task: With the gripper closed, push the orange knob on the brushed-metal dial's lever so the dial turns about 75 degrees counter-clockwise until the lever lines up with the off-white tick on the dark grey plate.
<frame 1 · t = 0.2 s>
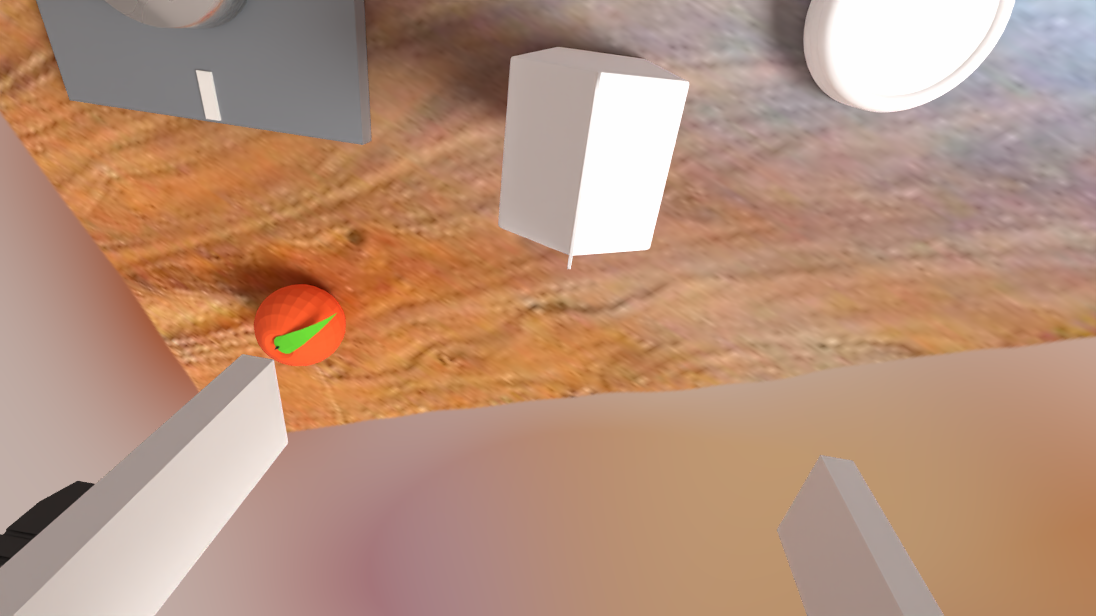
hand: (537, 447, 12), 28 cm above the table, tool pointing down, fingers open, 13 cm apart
milk: (594, 100, 34), on the table
clementine: (327, 302, 44), on the table
round white tin: (884, 19, 30), on the table
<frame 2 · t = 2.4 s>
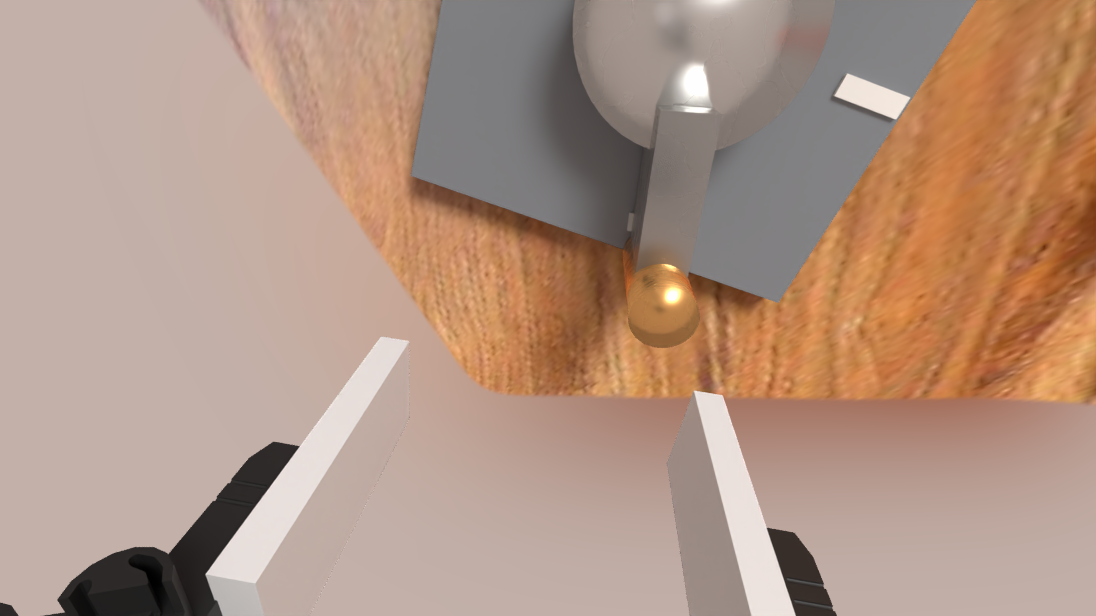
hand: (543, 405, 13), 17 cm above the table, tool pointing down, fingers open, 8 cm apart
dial: (683, 127, 21), point 5 cm above the table, hinge at -75.0°
plate: (682, 26, 23), on the table
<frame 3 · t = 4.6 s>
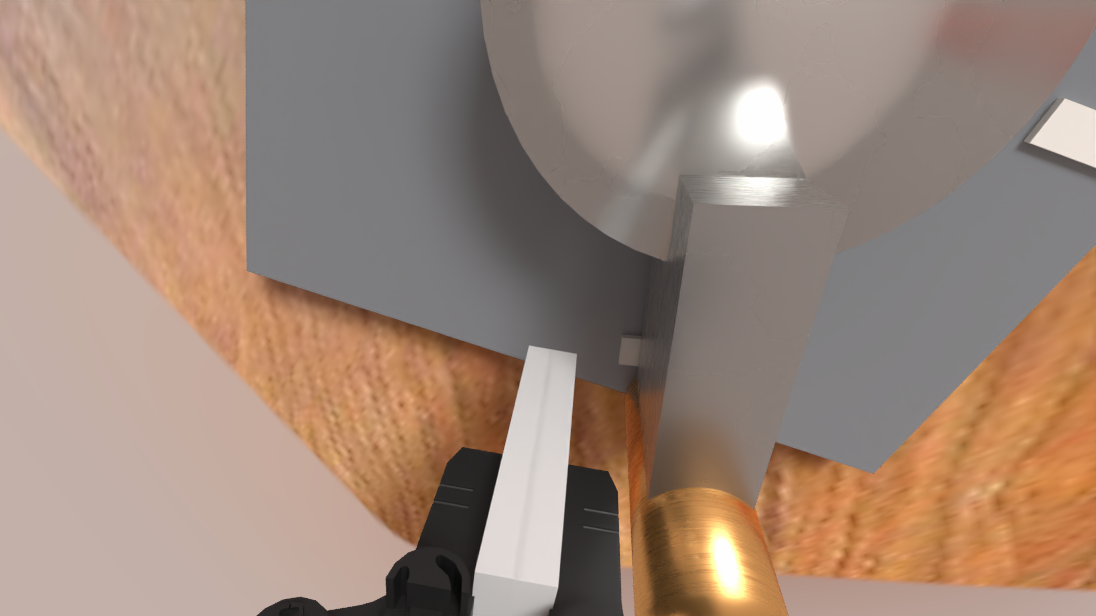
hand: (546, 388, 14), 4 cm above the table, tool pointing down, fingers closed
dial: (742, 224, 9), point 5 cm above the table, hinge at -72.7°, touching gripper
plate: (720, 7, 12), on the table
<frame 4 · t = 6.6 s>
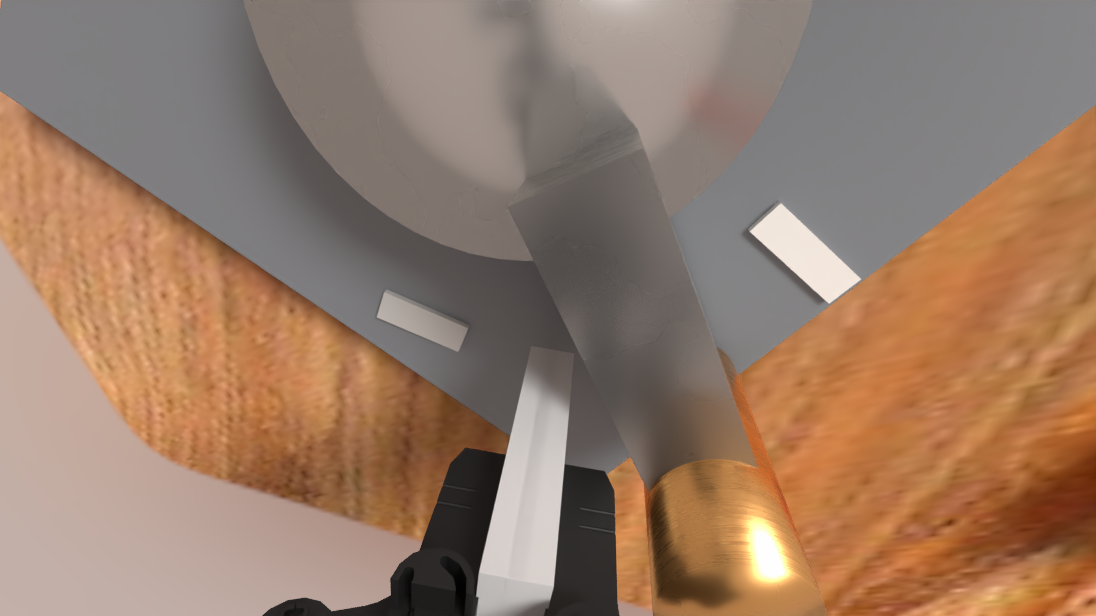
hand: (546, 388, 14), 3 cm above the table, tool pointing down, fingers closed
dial: (592, 199, 9), point 5 cm above the table, hinge at -26.6°, touching gripper
plate: (544, 9, 13), on the table
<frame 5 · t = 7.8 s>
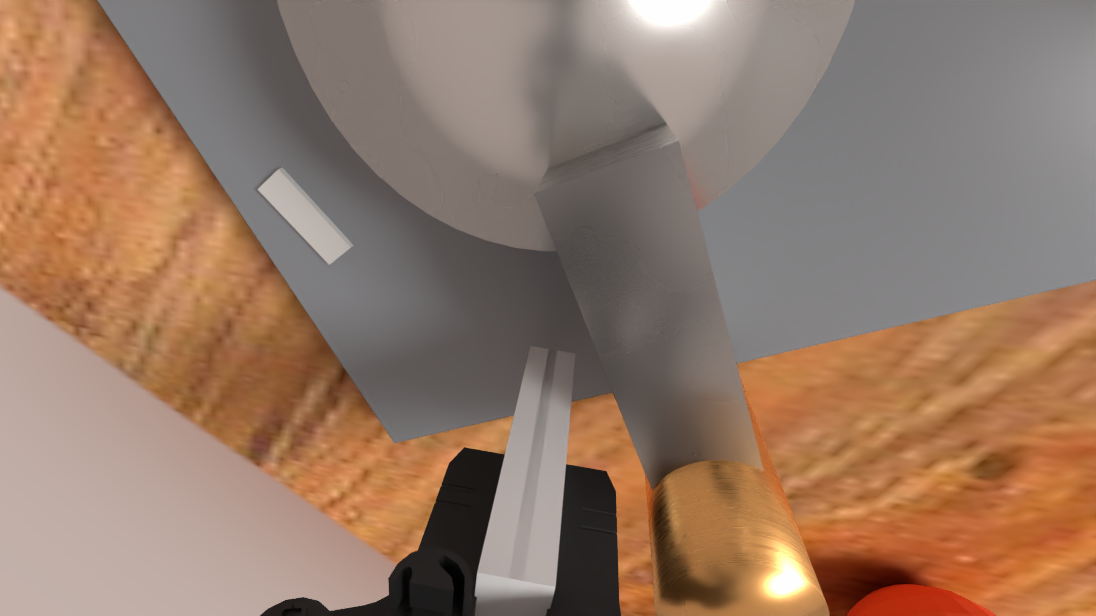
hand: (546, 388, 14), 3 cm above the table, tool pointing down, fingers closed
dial: (617, 192, 9), point 5 cm above the table, hinge at -0.1°, touching gripper
clementine: (904, 588, 21), on the table
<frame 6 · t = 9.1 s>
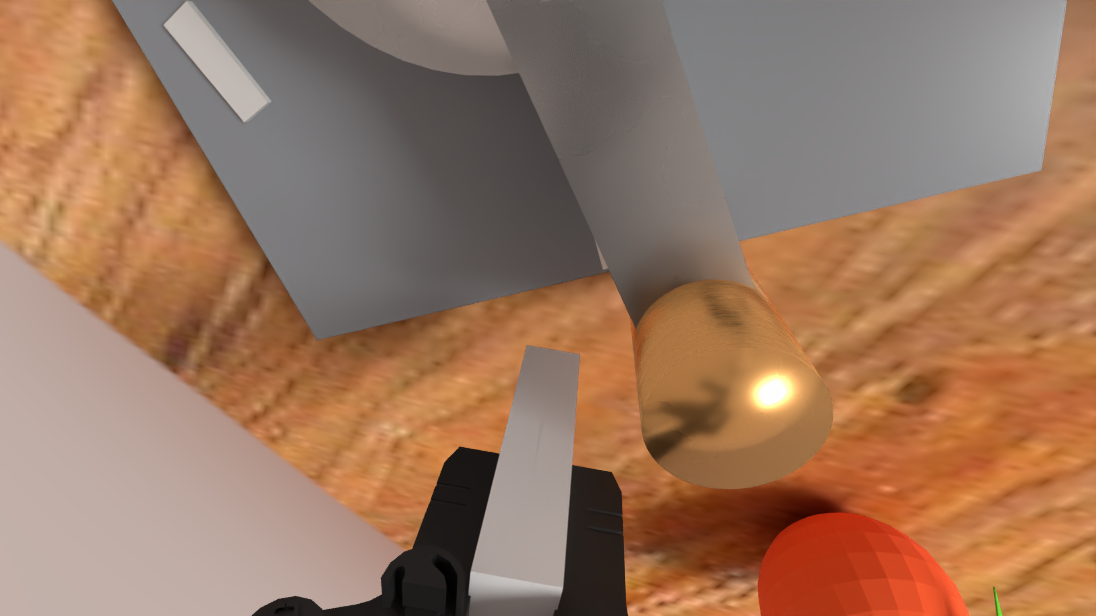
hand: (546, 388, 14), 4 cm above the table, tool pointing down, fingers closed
clementine: (828, 521, 22), on the table
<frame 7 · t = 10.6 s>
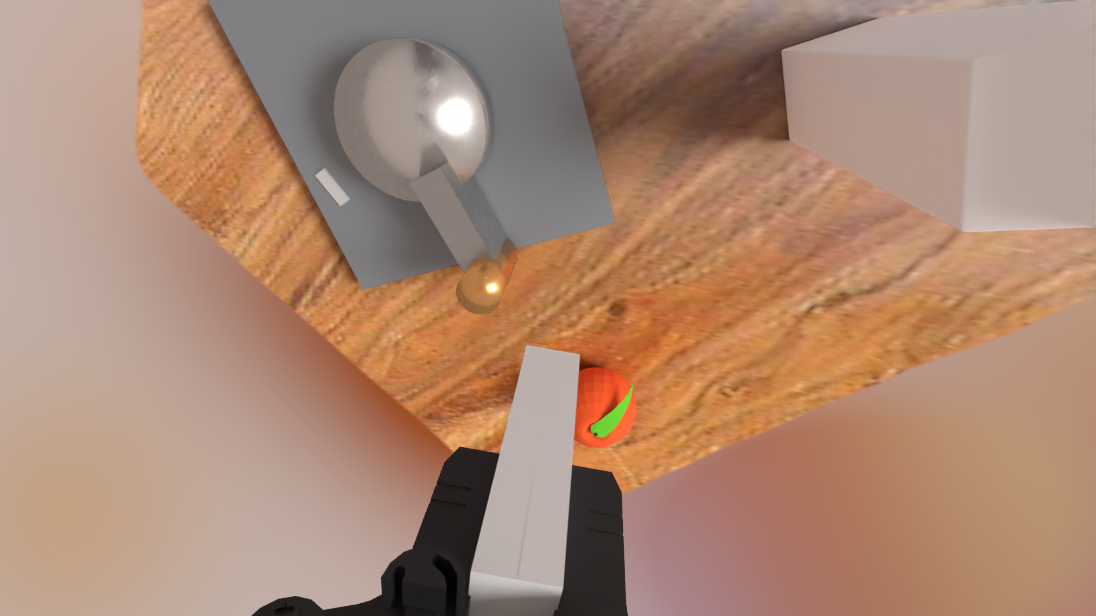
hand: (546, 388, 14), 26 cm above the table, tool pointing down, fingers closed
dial: (436, 181, 33), point 5 cm above the table, hinge at 8.7°
milk: (830, 82, 32), on the table
clementine: (600, 377, 46), on the table
plate: (431, 116, 36), on the table
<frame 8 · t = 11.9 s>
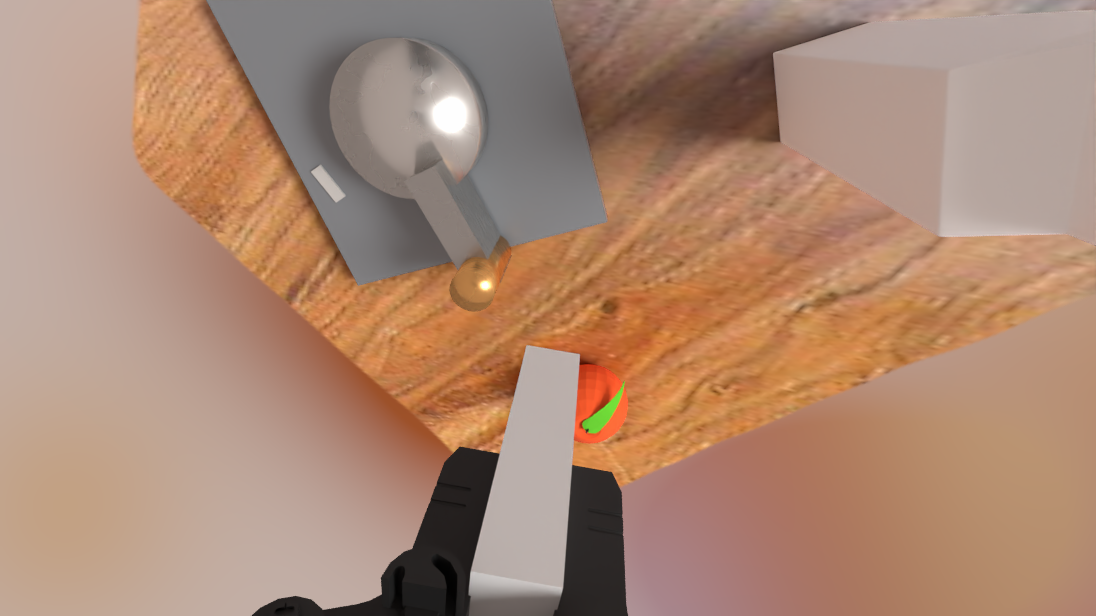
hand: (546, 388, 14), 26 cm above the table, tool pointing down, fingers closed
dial: (431, 179, 33), point 5 cm above the table, hinge at 8.7°
milk: (821, 85, 33), on the table
clementine: (593, 374, 46), on the table
plate: (426, 114, 36), on the table
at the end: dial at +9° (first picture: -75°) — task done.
